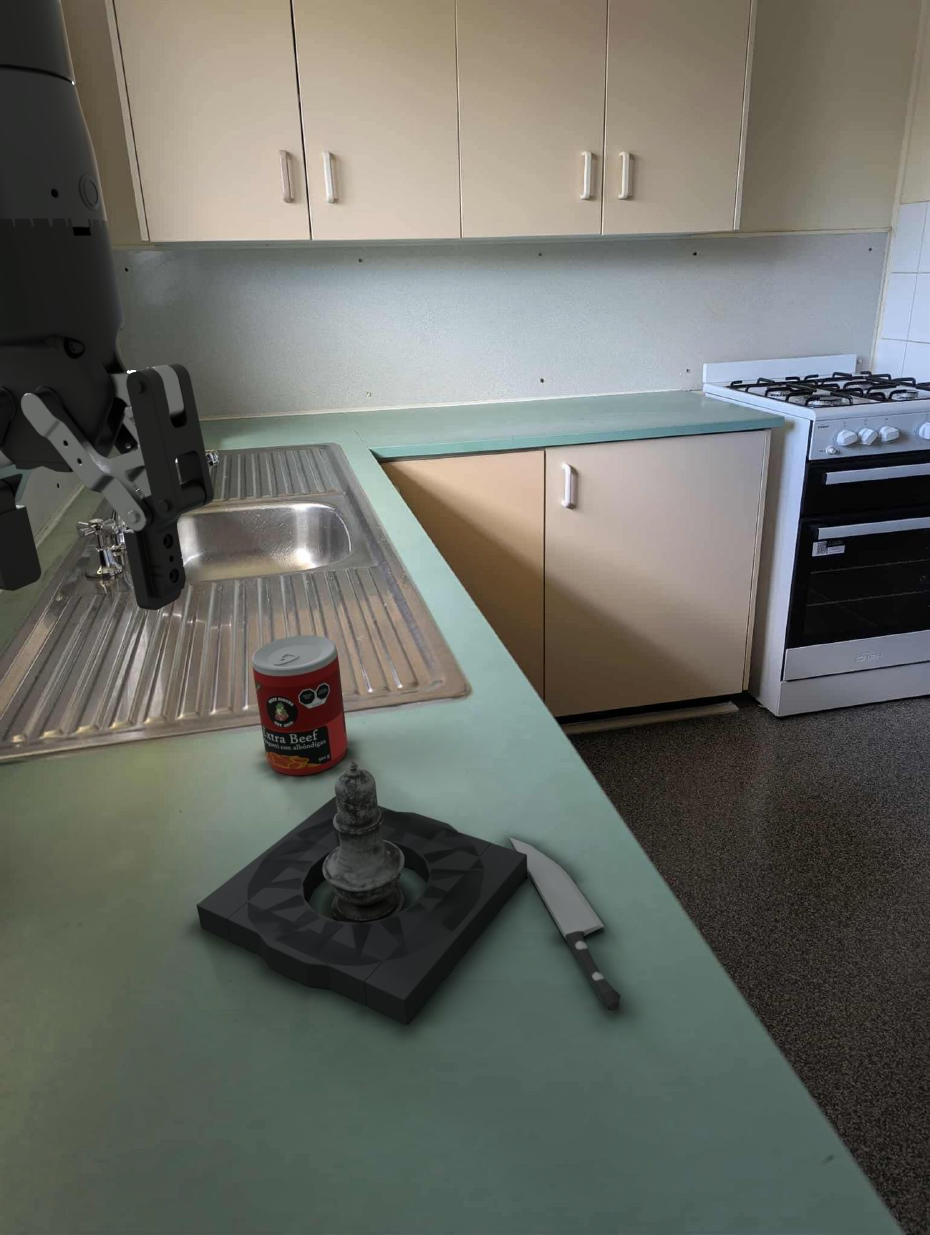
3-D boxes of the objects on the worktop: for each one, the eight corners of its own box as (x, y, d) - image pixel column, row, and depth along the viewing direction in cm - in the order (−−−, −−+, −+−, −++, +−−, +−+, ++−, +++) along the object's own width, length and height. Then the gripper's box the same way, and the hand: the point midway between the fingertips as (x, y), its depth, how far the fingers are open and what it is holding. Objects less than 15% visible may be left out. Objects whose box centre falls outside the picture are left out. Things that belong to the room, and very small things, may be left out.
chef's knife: (543, 834, 71) (508, 839, 70) (544, 822, 71) (509, 827, 70) (651, 1009, 54) (606, 1018, 53) (652, 994, 53) (607, 1003, 53)
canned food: (252, 773, 82) (235, 666, 78) (290, 731, 89) (276, 631, 85) (327, 781, 80) (314, 672, 76) (360, 738, 87) (349, 636, 83)
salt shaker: (312, 921, 62) (292, 777, 58) (350, 870, 68) (334, 734, 63) (387, 938, 60) (372, 790, 56) (420, 885, 66) (409, 745, 61)
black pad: (194, 932, 62) (190, 909, 61) (345, 809, 75) (343, 789, 75) (401, 1031, 53) (399, 1006, 52) (531, 871, 66) (530, 850, 66)
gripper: (-208, 223, 34) (-91, 607, 40) (72, 200, 29) (156, 644, 35) (-42, 226, 41) (37, 557, 47) (211, 208, 36) (262, 582, 42)
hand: (88, 594), depth 41 cm, fingers open, 8 cm apart
